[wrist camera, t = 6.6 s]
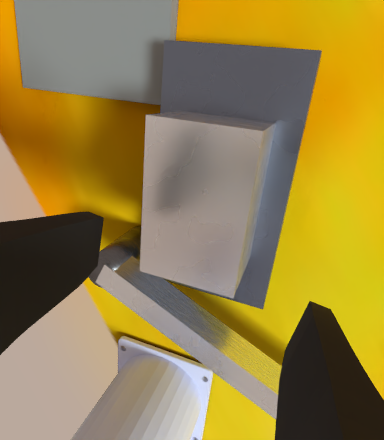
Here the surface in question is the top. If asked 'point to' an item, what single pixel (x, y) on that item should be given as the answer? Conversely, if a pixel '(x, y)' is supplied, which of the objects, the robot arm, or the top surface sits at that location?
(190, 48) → the grey piece
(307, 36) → the top surface
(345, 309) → the top surface
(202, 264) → the grey rectangular block
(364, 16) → the top surface
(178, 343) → the steel lever
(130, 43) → the rubber mat
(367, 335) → the top surface
